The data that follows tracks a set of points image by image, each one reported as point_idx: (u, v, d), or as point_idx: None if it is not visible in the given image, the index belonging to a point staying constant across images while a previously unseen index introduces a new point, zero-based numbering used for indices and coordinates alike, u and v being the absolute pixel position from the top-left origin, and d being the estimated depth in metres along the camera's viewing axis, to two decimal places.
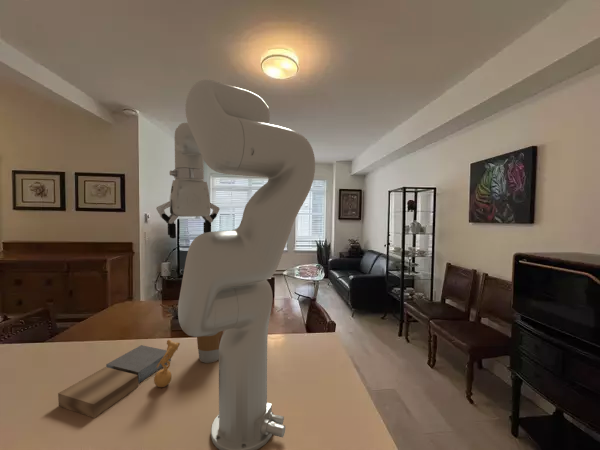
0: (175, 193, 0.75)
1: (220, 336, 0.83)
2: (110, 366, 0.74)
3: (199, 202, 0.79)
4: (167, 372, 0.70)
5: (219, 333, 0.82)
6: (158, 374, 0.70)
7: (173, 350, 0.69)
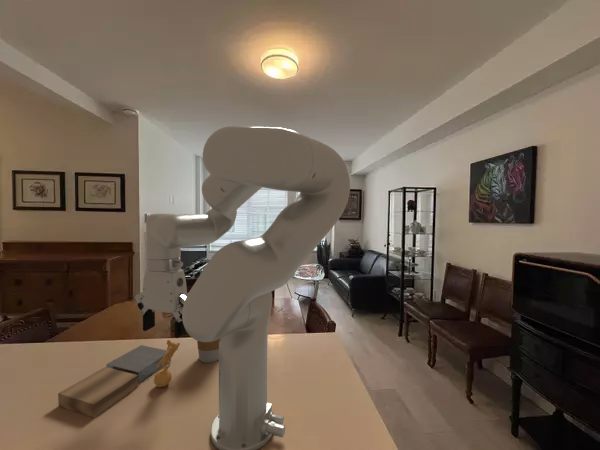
0: (185, 284, 0.70)
1: None
2: (110, 366, 0.74)
3: None
4: (167, 372, 0.70)
5: None
6: (158, 374, 0.70)
7: (173, 350, 0.69)
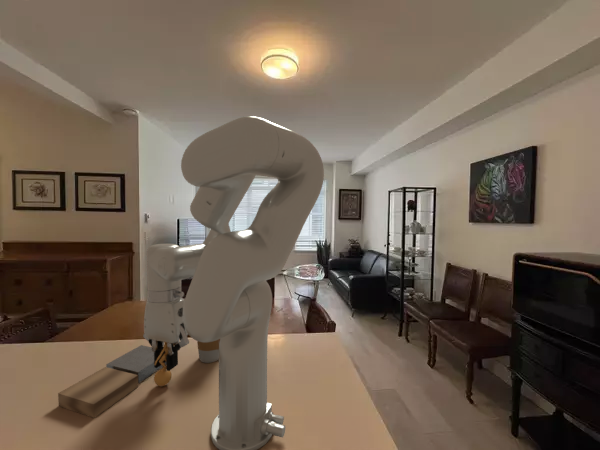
0: None
1: None
2: (110, 366, 0.74)
3: None
4: (166, 370, 0.71)
5: None
6: (157, 373, 0.70)
7: None
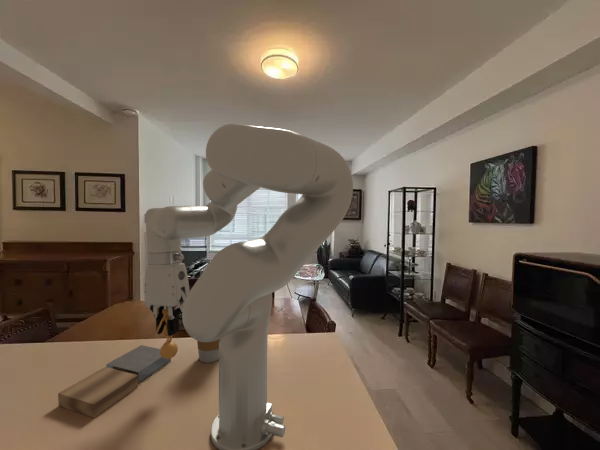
0: (187, 278, 0.69)
1: None
2: (110, 366, 0.74)
3: None
4: (171, 342, 0.69)
5: None
6: (162, 346, 0.69)
7: None
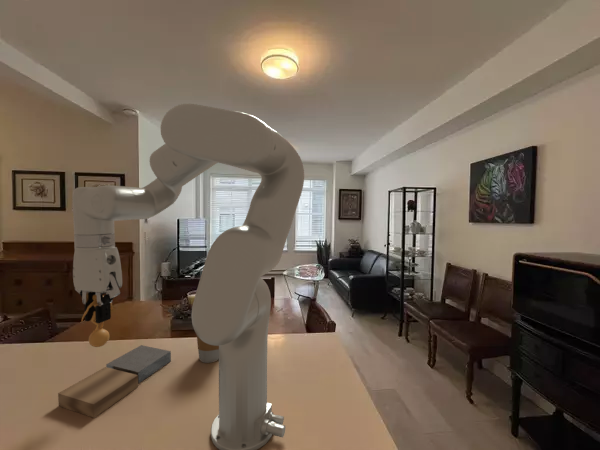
0: (120, 263, 0.65)
1: None
2: (110, 366, 0.74)
3: None
4: (102, 330, 0.66)
5: None
6: (91, 333, 0.65)
7: None
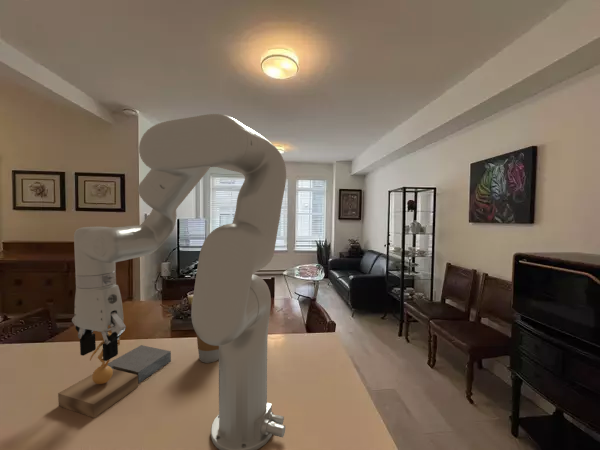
0: (121, 300, 0.66)
1: None
2: (110, 366, 0.74)
3: None
4: (106, 367, 0.66)
5: None
6: (96, 370, 0.65)
7: None
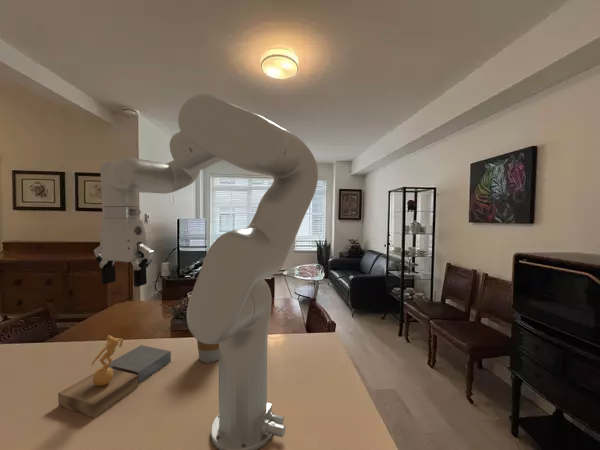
0: (145, 234, 0.69)
1: None
2: (110, 366, 0.74)
3: None
4: (107, 370, 0.66)
5: None
6: (97, 372, 0.65)
7: (112, 346, 0.65)
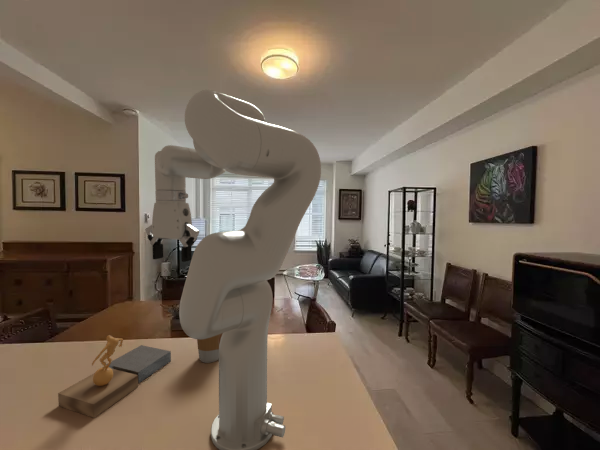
0: (190, 216, 0.78)
1: (220, 336, 0.83)
2: (110, 366, 0.74)
3: None
4: (107, 370, 0.66)
5: None
6: (97, 372, 0.65)
7: (112, 346, 0.65)
